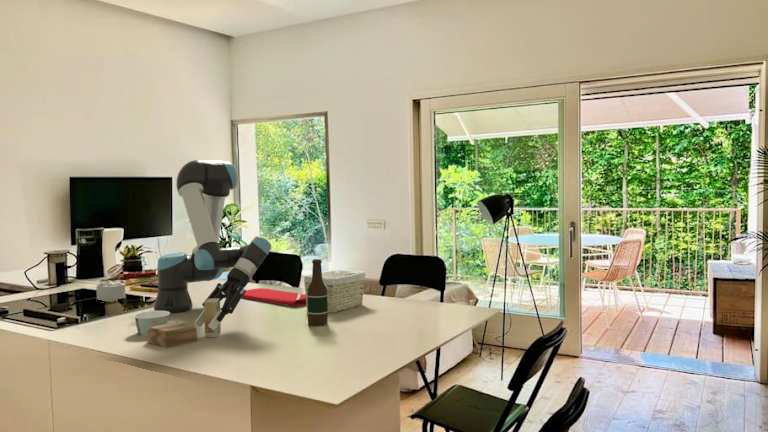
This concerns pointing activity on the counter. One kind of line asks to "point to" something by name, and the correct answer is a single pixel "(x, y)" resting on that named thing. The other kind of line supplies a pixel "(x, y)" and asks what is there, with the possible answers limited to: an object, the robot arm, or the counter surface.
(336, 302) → the storage basket
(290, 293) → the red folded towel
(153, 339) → the walnut base
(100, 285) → the lumpy-topped squat cylinder
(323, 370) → the counter surface
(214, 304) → the skincare box
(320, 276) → the beer bottle
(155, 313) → the food container
